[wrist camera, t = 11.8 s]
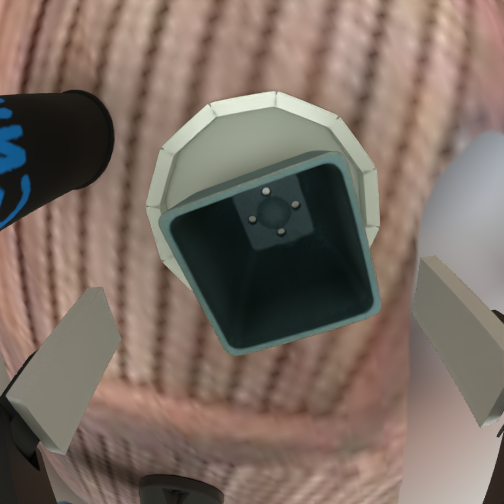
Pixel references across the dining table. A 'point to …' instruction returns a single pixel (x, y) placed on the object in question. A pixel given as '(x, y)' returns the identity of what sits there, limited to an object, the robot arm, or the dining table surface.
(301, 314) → the flower pot
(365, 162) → the saucer
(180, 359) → the dining table surface
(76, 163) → the aerosol can
